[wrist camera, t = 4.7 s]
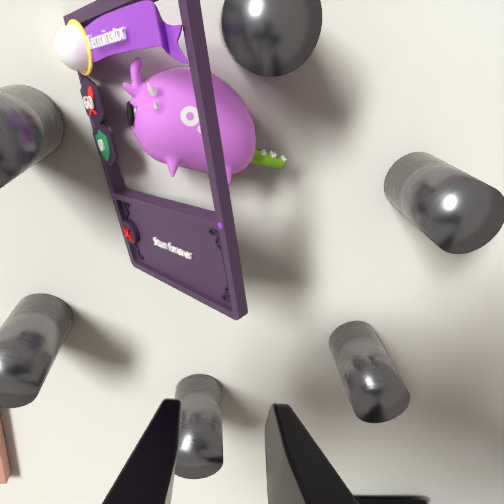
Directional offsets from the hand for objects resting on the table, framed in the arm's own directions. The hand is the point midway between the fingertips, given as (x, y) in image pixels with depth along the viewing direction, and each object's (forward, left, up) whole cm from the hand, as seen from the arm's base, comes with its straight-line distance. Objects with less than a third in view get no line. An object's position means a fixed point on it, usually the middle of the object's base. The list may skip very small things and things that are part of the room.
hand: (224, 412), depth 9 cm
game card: (0, 0, -7) cm, 7 cm away
